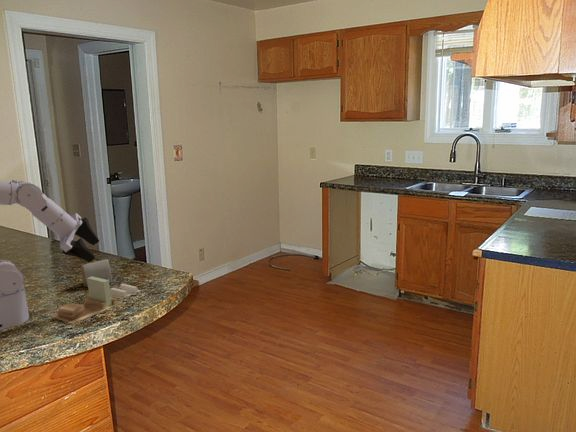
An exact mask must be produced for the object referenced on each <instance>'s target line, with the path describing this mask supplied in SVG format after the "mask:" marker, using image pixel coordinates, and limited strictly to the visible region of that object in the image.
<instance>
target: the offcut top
mask: <svg viewBox="0 0 576 432" xmlns="http://www.w3.org/2000/svg"><path fill="white" fill-rule="evenodd" d="M57 309H58V311H59V313H64V314H69V315H75V314H77V313H79V312H81V311H83V310H84V305H81V304H77V303H74V302H73V303H72V302H69V303H66V304H64V305H62V306H60V307H58V308H57Z"/></svg>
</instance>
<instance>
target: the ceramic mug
mask: <svg viewBox="0 0 576 432" xmlns="http://www.w3.org/2000/svg"><path fill="white" fill-rule="evenodd" d="M109 262H110V261H109V259H107V258H106V259H101V260H97V261H94V262H88V263H85V264H82V265H81V266H80V271H81V276H82V282H83V287H85V288H86V287H87V288H88V282H87V278H89V277H92V276H93V277H97V278H101V279H106V280H109V284H112V283H113V279H112V278H113V277H112V272H111V266H110V263H109Z"/></svg>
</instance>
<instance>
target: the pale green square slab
mask: <svg viewBox="0 0 576 432" xmlns="http://www.w3.org/2000/svg"><path fill="white" fill-rule="evenodd" d="M87 282H88V286H87V289H88V296H89V297H88V298H90V299H94V300H98V301H101V302H105V303H106V306H107V307H109V306H111V305H112V301H111V297H112V296H111V292H110V289H111V285H110V283H109V280H106V279H101V278H97V277H93V276H92V277H89V278H87Z"/></svg>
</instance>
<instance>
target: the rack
mask: <svg viewBox="0 0 576 432" xmlns="http://www.w3.org/2000/svg"><path fill="white" fill-rule="evenodd" d="M111 301H112V305H111V306H109V307H107V306H106V303H105V302H101V301H98V300H94V299H90V297H85V298H83V303H81V304H80V305H84V310H86V314H87V315H85V316H83V317H80V318H78V319H76V320H73V321H71V320H68V319H65V318H62V317H59V316H58V313H56V314H54V315H51V316H50V317H51V318H53V319H56V320H60V321H63V322H65V323H69V324H71V325H73V324H76V323H77V322H80V321H83V320H85V319H88V318H89V317H92V316H94V315H97V314H99V313H101V312H103V311H106V310H108V309H110V308H113V307H116V306H118V305H120V304H122V303H123V302H122V301H118V298H115V297H112V296H111Z"/></svg>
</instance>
